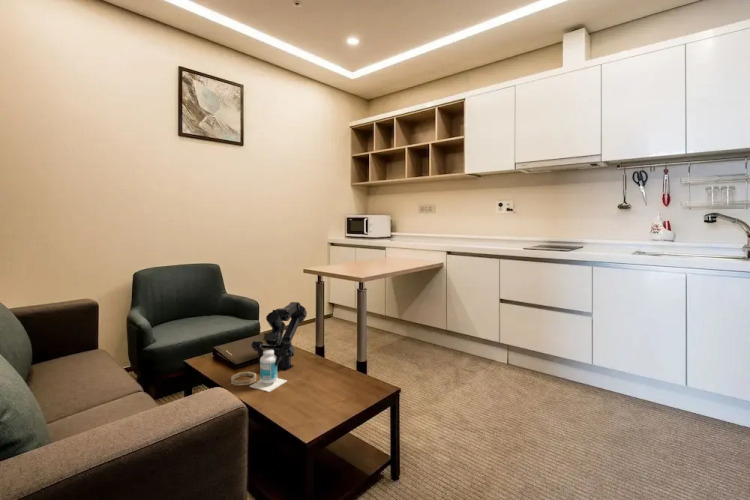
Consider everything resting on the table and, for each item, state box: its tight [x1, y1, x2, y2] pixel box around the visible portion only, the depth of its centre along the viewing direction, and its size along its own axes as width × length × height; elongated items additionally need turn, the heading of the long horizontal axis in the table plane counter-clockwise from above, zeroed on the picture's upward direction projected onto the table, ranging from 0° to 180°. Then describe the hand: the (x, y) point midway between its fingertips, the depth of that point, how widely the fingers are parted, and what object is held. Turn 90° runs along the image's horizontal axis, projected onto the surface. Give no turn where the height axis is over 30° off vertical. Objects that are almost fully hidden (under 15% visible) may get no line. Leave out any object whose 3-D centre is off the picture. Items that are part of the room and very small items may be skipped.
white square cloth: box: [249, 377, 288, 393], centre depth 167 cm, size 12×11×1 cm
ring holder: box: [230, 371, 258, 387], centre depth 171 cm, size 11×11×2 cm
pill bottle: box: [259, 349, 278, 383], centre depth 167 cm, size 8×7×14 cm
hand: (267, 365), depth 165 cm, fingers closed on pill bottle, 7 cm apart
